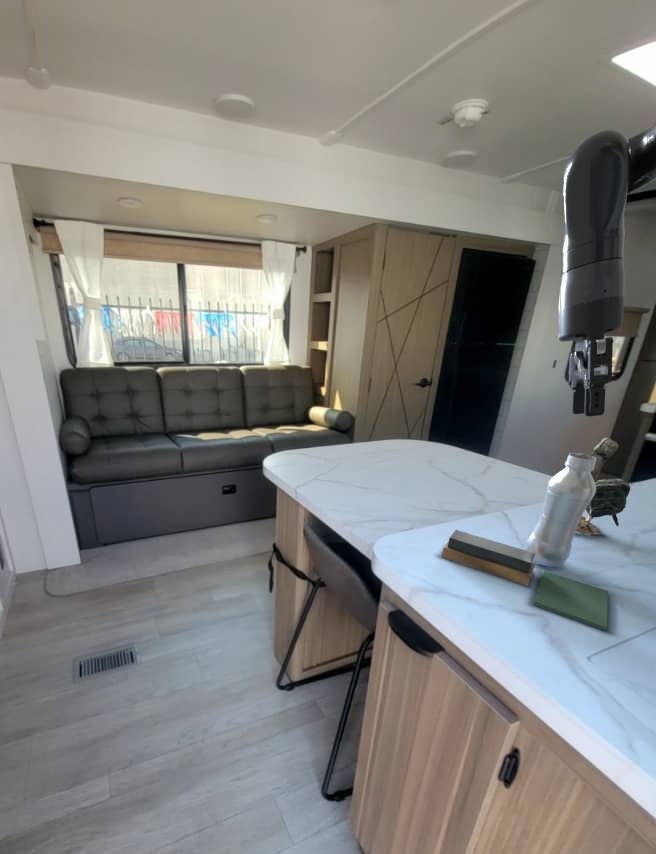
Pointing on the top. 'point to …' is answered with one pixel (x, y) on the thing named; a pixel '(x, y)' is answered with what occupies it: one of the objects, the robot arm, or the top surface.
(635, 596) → the top surface
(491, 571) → the grey and wooden block
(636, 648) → the top surface
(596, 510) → the plant with pod
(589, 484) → the silver metal bottle
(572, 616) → the drying mat
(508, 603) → the top surface
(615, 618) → the top surface
